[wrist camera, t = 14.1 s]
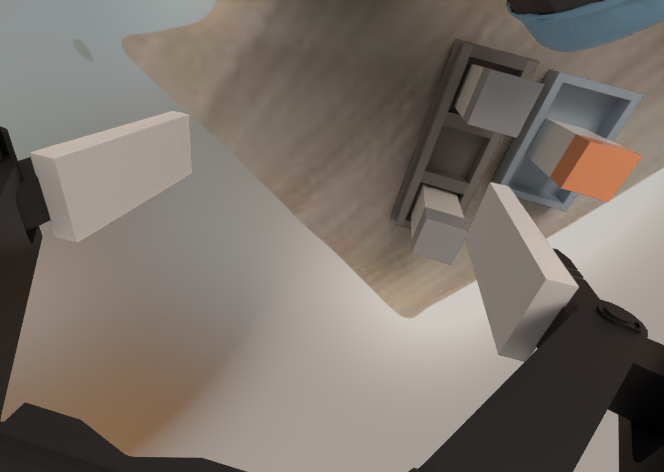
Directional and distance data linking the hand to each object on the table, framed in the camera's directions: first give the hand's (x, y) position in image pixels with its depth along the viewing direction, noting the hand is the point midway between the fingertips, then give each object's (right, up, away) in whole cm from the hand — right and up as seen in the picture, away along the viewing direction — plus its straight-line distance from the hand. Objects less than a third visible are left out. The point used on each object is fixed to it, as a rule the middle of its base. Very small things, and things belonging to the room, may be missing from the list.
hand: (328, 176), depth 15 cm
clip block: (+16, +8, +28) cm, 33 cm away
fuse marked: (+26, +8, +25) cm, 37 cm away
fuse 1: (+14, +2, +31) cm, 34 cm away
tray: (+26, +9, +26) cm, 38 cm away
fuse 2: (+17, +14, +24) cm, 32 cm away
